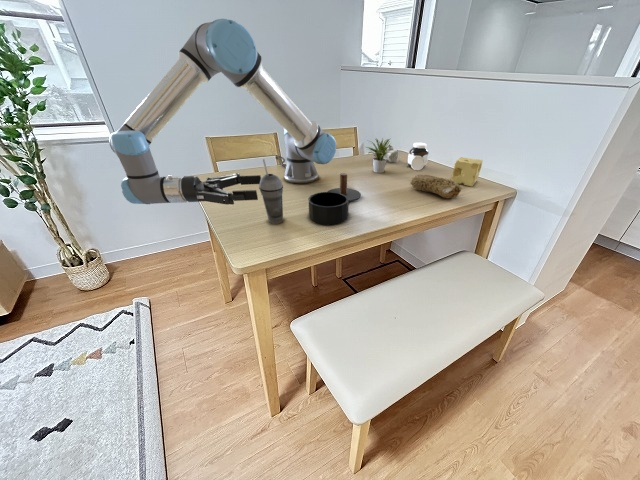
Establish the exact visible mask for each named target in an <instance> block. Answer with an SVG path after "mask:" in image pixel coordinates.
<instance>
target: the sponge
mask: <svg viewBox="0 0 640 480" xmlns="http://www.w3.org/2000/svg"><path fill="white" fill-rule="evenodd" d="M410 185H411V186H412V188H414V189H416V190H420V191H421V192H426V193H434V194H435V195H438V196H440V197H442V198H443V199H451V198H452V199H453V198H455V199H456V198H457V197H458V196H459V195H460V194H461V192H462V186H461V184H458V183H455V182H453V181H452V180H451V179H449V178H444V177H438V176H434V175H430V174H417V175H415V176H412V178H411V180H410Z"/></svg>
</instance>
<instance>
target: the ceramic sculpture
mask: <svg viewBox="0 0 640 480" xmlns="http://www.w3.org/2000/svg"><path fill="white" fill-rule="evenodd" d="M388 146H389V145H388ZM388 146H387V147H388ZM386 150H388V151H386V152H389V153H387V154H385V156H384V157H383V158H386V159H387V161H386V162H390V163H391V164H395V163H396V162H397V161H399V157H400V152H399V150H398V149H396V150H395V149H394V147H393V146H392V145H390V146H389V147H388V148H387V149H386ZM373 156H374V157H377V156H376V154H373Z"/></svg>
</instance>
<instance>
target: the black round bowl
mask: <svg viewBox="0 0 640 480" xmlns="http://www.w3.org/2000/svg"><path fill="white" fill-rule="evenodd" d="M307 203H308V216H309V220H310V221H311V222H312V223H314V224H317V225H320V226H336V225H341V224H343V223H345V222H346V221H347V220H348V219H349V206H350V205H349V203H350V202H349V199H348V197H347V196H345V195H344V194H341V193H337V192H327V191H321V192H316V193H313V194H311V195H310V196H309V197H308V202H307Z"/></svg>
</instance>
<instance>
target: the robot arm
mask: <svg viewBox="0 0 640 480" xmlns="http://www.w3.org/2000/svg"><path fill="white" fill-rule="evenodd" d="M177 56H178V60H177V61H176V62H175V63H174V64H173V65H172V66H171V67H170V69H169V70H168V71H167V72H166V73H165V75H164V76H162V78H161V79H160V81H159V82H158V83H157V84H156V85H155V86H154V87H153V89H152V90H151V91H150V92H149V93H148V95H147V96H146V97H145V98H144V99H143V100H142V102H141V103H140V104H139V105H138V106H137V107H136V109H135V110H134V111H133V112H132V113H131V114H130V116H129V117H128V118H127V119H126V120H125V122H124V123H123V124H122V125H121V126H120V128H118V130H115V131H113V132H112V133H111V134H110V135H109V136H108V137H109V138H108V144H109V147H110V149H111V150H112V152H113V153H114V154H115V155H116V157H117V159H119V161H120V164H121V165H122V168H123V170H124V172H125V175H126V177H125V178H123V179H122V181H121V183H120V187H121V193H122V196H123V197H124V199H125V200H126V201H127V202H129V203H130V204H133V205H134V204H135V205H156V204H180V203H181V204H182V203H187V202H188V203H200V202H208V203H214V204H220V205H227V206H229V205H234V204H235V202H238V201H239V202H241V201H243V202H244V201H258V199H259V198H258V192H257V189H249V190H247V189H246V190H232V191H231V192H230V191H228V190H224V189H225V188H226V189H227V188H229V187H232V186H236V185H241V186H242V185H245V186H247V185H260V180H261V178H262V176H261V175H260V174H257V175H255V174H254V175H253V174H252V175H251V174H250V175H240V172H236V173H231V174H225V175H219V176H210V177H206V180H204V181H202V180H201V179H200V178H199V177H198V176H197V175H184V176H173V175H172V174H168V176H160V173H159V170H158V168H157V165H156V163H155V160H154V156H153V154H152V150H151V149H150V148H151V147H150V145H151V144H152V143H153V141H154V140H155V139H156V138H157V136H158V135H159V134H160V133H161V132H162V131H163V130H164V128H165V127H166V126H167V125H168V124H169V122H170V121H171V120H172V119H173V118H174V116H175V115H176V114H177V113H178V112H179V110H180V109H181V108H182V107H183V106H184V104H185V103H187V101H188V100H189V99H190V98H191V96H192V95H193V94H194V93H195V91H196V90H197V89H198V88H199V87H200V86H201V84H202V83H209V81H210V80H211V79H212V78H213V77H214V76H216V75H217V74H219V73H222V74H223V75H224V77H226V78H227V79H228V80H229V81H230V82H231V83H232V84H233V86H235V87H236V88H238V89H245V90H246V91H247V92H248V93H249V94H250V95H251V96H252V98H254V99H255V100H256V101H257V102H258V104H260V105H261V107H263V109H264V110H266V112H267V113H268V114H269V115H270V116H271V117H272V118H273V119H274V120H275V121H276V122H277V123H278V124H279V125H280V126H281V127H282V128H283V137H284V145H285V155H286V159H285V158H284V157H283V156H281V155H276V156H275V159H281V160H282V161H281V163H280V165H281V166H283V167H284V168H285V171H284V175H283V176H284V180H285V182H287V183H289V184H295V185H296V184H297V185H300V184H302V185H303V184H310V183H311V184H312V183H314V182H316V181H318V179H319V175H318V174H319V173H318V171H317V167H316V166H315V164H317V165H327V164H329V163H331V162H332V160H333V159H334V157H335V156H336V153H337V141H336V138H335V137H334V136H333V135H332V134H331V133H329V132H326V131H324V130H323V129H322V127H321V126H320V125H319V124H318V123H317V122H316V121H314V120H309V118H308V117H307V116H306V114H304V112H303V111H302V110H301V109H300V108H299V107H298V105H296V103H295V102H294V101H293V99H291V98H290V96H289V95H288V94H287V93H286V92H285V90H284V89H283V88H282V87H281V86H280V84H279V83H278V82H277V81H276V80H275V78H274V77H273V76H272V75H271V74H270V73H269V71H268V70H267V69H266V68H265V67H264V64H263V57H262V55H261V54H260V53H259V52H258V50H257V47H256V43H255V40H254V38H253V36H252V35H251V33H250V32H249V30H247V28H245V26H244V25H243V24H240V22H238V21H236V20H232V19H227V18H218V19H215V20H213V21H209V22H204V23H201V24H200V25H199V26H197V27H196V28H195V29H194V31H193V32H192V33H191V35H190V36H189V37H188V39H187V41H186V42H185V43H184V45H183V46H182V47H181V48H180V50H179V51H178V52H177ZM285 162H286V164H284V163H285ZM314 163H315V164H314Z"/></svg>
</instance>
